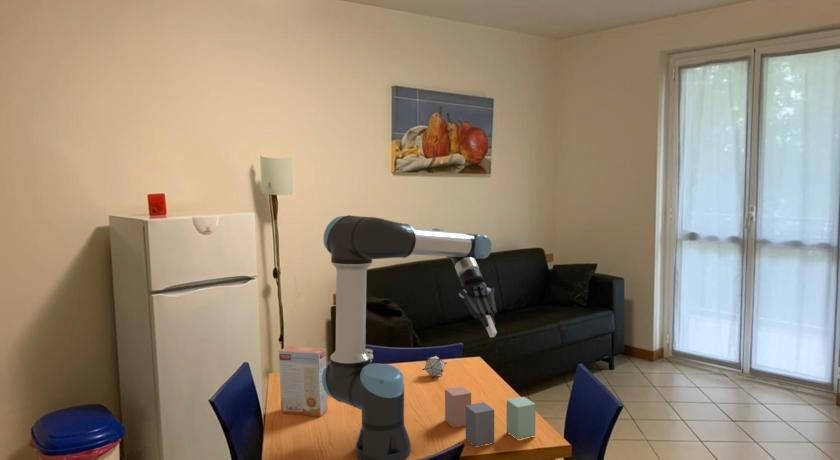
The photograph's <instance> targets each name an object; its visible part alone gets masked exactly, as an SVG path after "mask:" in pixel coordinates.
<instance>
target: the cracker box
mask: <svg viewBox="0 0 840 460" xmlns="http://www.w3.org/2000/svg"><path fill="white" fill-rule="evenodd" d="M326 351H327V349H326V348H322V347H320V348H319V347H306V346H305V347H304V346H291V345H288V346H285V347H284V348H282V349H280V350H278V355H279V356H278V358H279V359H278V360H279V361H278V362H279V388H280V389H279V391H280V392H279V393H280V410H281V411H280V413H281V414H291V415H301V416H309V417H322V416H323V414H325V413H326V412H327V411H328V394H327V393H326V391H325V390H324V387H323V384H322V374H323V370H324V368H326V365H327V356H326V355H327V354H326Z"/></svg>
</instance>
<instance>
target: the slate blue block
mask: <svg viewBox="0 0 840 460" xmlns="http://www.w3.org/2000/svg"><path fill="white" fill-rule="evenodd" d="M465 440H466V441H467V440H468V441H467V442H468V443H469V444H471V443H472V444H473V445H474V446H475V447H476V446H481V445H485V444H490V443H493V442H494V443H495V409H494V408H493V407H491V406H490V405H489V404H487V403H486V402H485V401H482V402H477V403H471V405H466V426H465ZM472 444H471V445H472ZM473 445H472V446H473ZM474 446H473V447H474ZM475 447H474V448H475Z"/></svg>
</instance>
